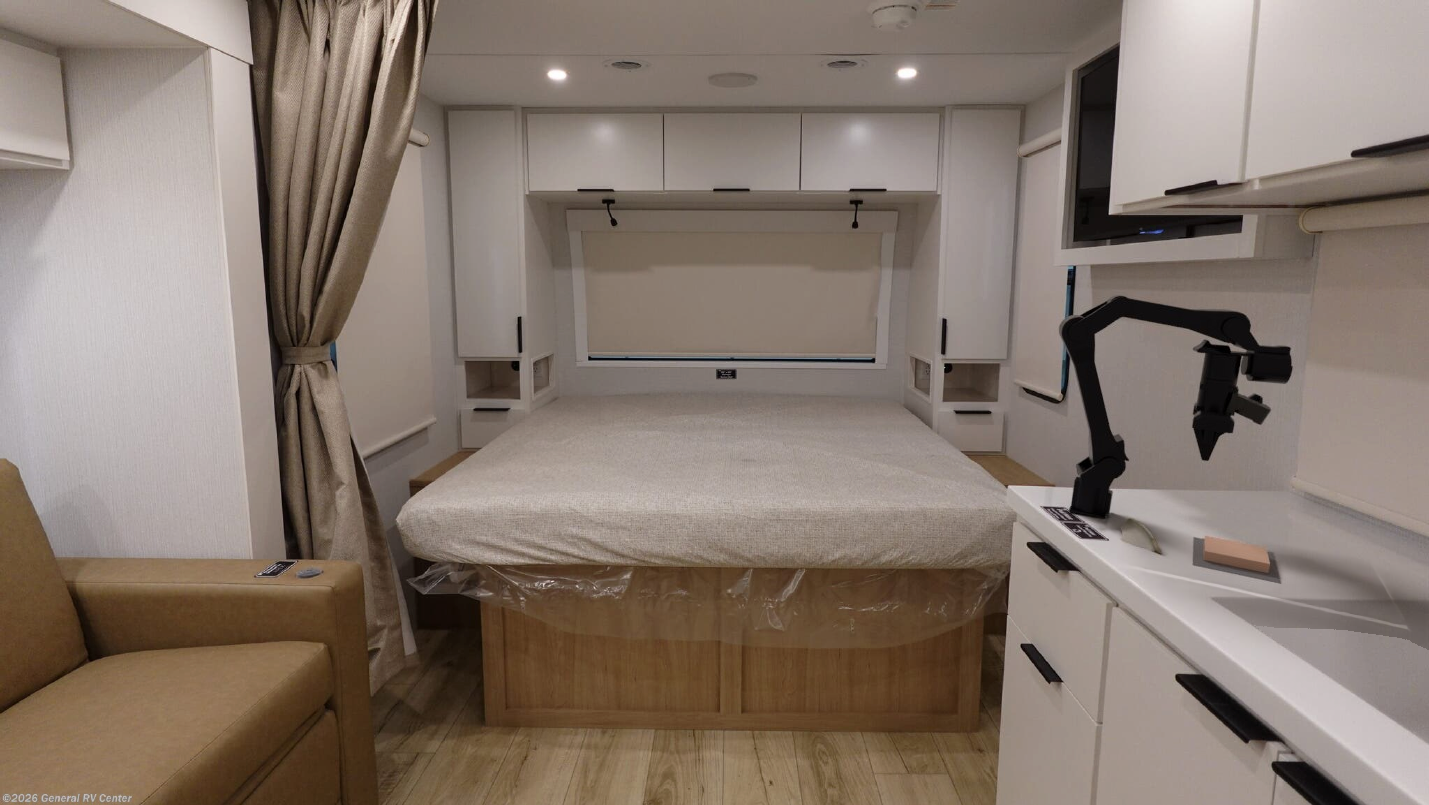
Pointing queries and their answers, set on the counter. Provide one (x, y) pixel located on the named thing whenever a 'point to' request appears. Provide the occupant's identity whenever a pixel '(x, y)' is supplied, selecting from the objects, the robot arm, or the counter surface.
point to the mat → (1198, 561)
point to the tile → (1236, 554)
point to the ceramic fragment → (1138, 536)
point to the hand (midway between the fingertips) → (1205, 460)
